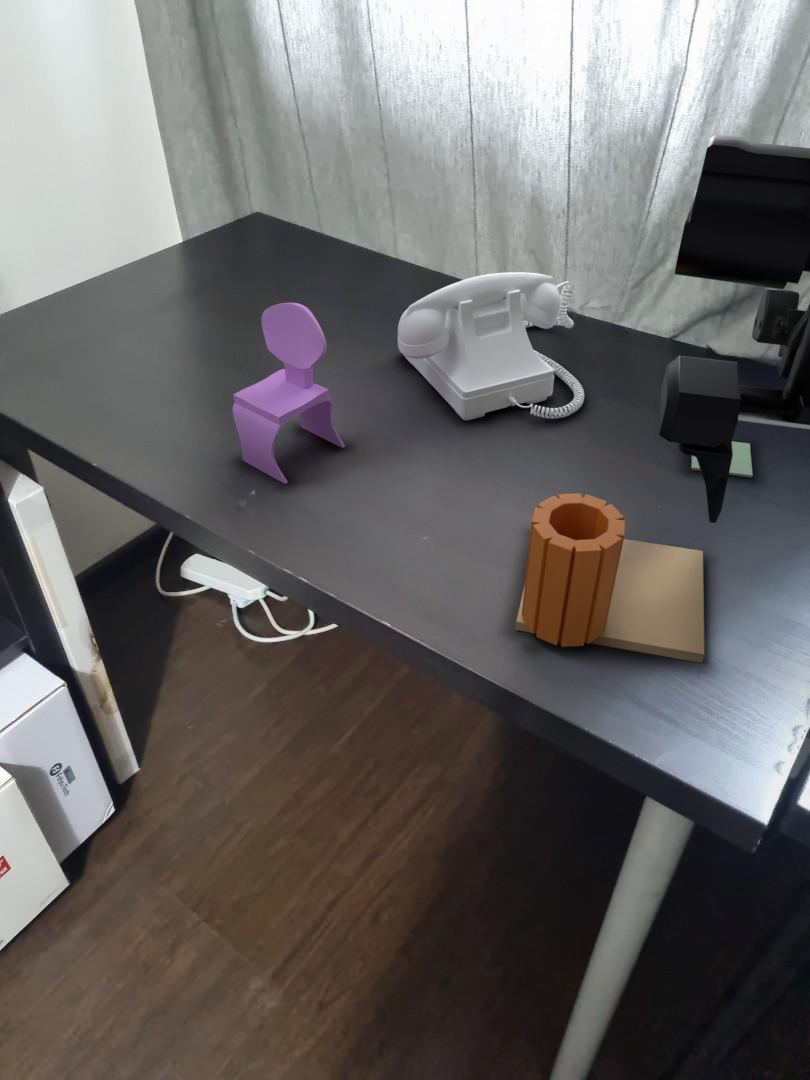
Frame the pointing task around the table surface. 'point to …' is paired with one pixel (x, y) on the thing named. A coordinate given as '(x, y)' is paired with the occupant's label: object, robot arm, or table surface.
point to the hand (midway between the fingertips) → (786, 529)
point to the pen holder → (572, 568)
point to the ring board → (655, 602)
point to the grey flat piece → (735, 460)
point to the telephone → (488, 342)
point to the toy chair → (285, 388)
